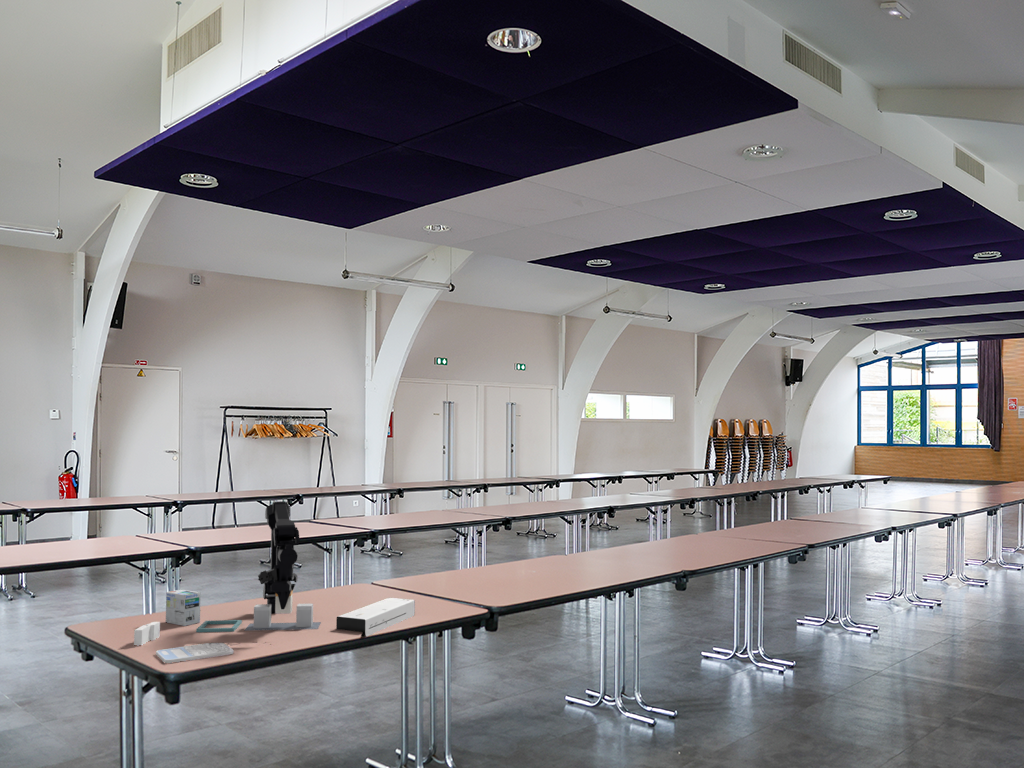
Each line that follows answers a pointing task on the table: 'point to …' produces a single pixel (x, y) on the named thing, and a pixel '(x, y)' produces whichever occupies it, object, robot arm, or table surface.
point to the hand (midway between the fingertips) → (283, 607)
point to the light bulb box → (183, 607)
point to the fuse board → (282, 626)
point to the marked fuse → (287, 608)
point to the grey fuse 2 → (304, 615)
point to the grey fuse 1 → (262, 616)
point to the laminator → (376, 616)
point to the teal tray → (203, 629)
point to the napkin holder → (146, 633)
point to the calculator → (194, 652)
